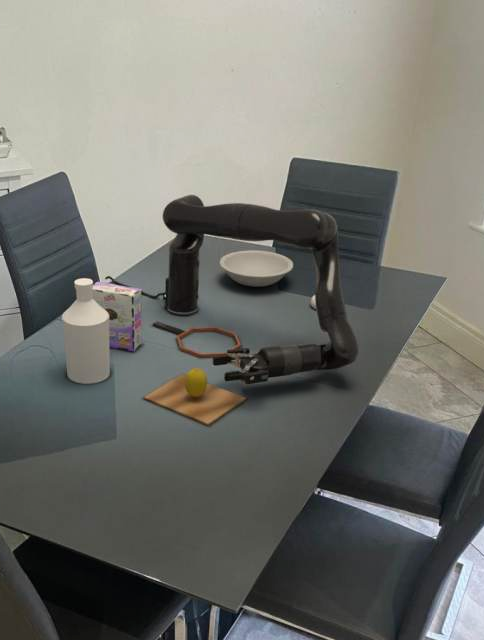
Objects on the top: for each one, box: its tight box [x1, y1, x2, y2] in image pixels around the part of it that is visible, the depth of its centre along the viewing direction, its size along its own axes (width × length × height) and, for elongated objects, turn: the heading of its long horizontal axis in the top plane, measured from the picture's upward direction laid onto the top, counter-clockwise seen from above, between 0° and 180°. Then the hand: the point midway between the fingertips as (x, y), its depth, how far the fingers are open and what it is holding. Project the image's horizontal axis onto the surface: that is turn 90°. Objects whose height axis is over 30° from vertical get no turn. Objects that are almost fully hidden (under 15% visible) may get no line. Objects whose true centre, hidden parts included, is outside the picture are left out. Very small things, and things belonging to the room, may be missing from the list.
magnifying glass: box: [152, 321, 242, 358], centre depth 213 cm, size 28×17×1 cm, turn 50°
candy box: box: [92, 281, 143, 352], centre depth 205 cm, size 14×6×16 cm, turn 65°
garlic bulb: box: [310, 294, 317, 310], centre depth 228 cm, size 6×6×8 cm
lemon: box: [185, 367, 208, 398], centre depth 183 cm, size 6×6×8 cm
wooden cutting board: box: [143, 373, 247, 426], centre depth 186 cm, size 20×16×1 cm
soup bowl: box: [219, 249, 294, 288], centre depth 244 cm, size 24×24×7 cm
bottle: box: [61, 277, 111, 385], centre depth 189 cm, size 12×12×25 cm
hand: (218, 369), depth 182 cm, fingers open, 8 cm apart
